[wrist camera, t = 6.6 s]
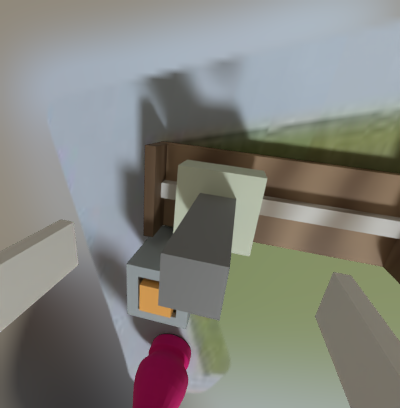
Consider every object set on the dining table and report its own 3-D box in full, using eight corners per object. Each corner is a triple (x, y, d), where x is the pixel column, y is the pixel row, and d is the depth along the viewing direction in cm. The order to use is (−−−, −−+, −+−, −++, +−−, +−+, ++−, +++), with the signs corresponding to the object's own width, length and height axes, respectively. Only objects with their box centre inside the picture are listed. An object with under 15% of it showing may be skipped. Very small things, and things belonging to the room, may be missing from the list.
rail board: (426, 177, 19) (476, 191, 15) (384, 260, 23) (416, 290, 18) (163, 141, 23) (145, 144, 19) (159, 217, 26) (143, 235, 22)
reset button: (188, 254, 24) (172, 292, 18) (186, 275, 25) (170, 318, 20) (163, 248, 24) (139, 284, 19) (161, 270, 26) (139, 310, 20)
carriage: (264, 170, 19) (292, 234, 8) (248, 239, 21) (254, 360, 10) (187, 159, 20) (116, 202, 9) (181, 226, 22) (120, 325, 11)
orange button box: (206, 234, 26) (192, 278, 18) (201, 274, 28) (185, 329, 20) (159, 225, 26) (126, 264, 19) (157, 265, 29) (127, 314, 21)
